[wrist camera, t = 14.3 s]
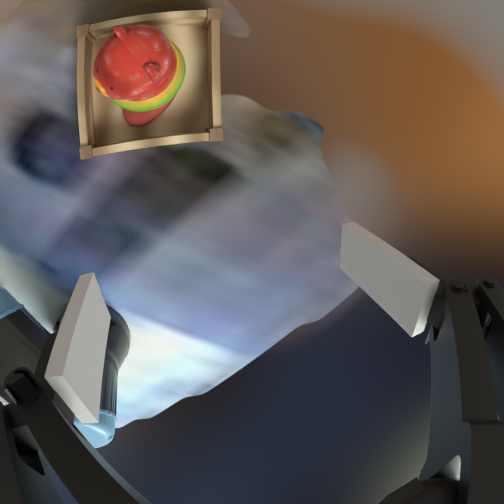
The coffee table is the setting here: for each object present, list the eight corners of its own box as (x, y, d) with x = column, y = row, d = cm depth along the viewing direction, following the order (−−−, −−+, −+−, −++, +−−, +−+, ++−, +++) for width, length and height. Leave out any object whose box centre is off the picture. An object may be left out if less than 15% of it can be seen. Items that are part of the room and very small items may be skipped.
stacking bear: (96, 73, 29) (48, 47, 14) (161, 33, 29) (156, -21, 14) (134, 133, 35) (106, 144, 19) (197, 93, 35) (218, 74, 19)
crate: (91, 154, 35) (80, 159, 30) (87, 36, 27) (77, 26, 22) (216, 137, 39) (223, 140, 34) (214, 20, 31) (220, 8, 26)
